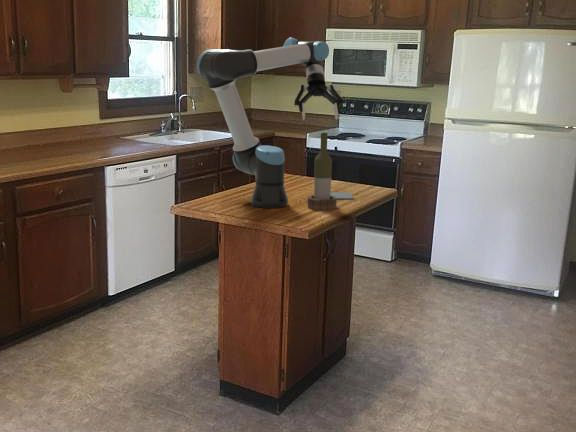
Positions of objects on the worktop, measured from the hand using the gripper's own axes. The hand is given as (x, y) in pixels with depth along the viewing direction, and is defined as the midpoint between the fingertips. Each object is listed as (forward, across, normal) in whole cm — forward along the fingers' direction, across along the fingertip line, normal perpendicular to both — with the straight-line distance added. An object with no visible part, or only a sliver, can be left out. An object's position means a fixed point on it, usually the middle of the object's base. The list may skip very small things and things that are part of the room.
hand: (320, 117), depth 263 cm
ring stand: (+33, +1, -16) cm, 37 cm away
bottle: (+33, +1, -16) cm, 37 cm away
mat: (+19, -10, -31) cm, 38 cm away
